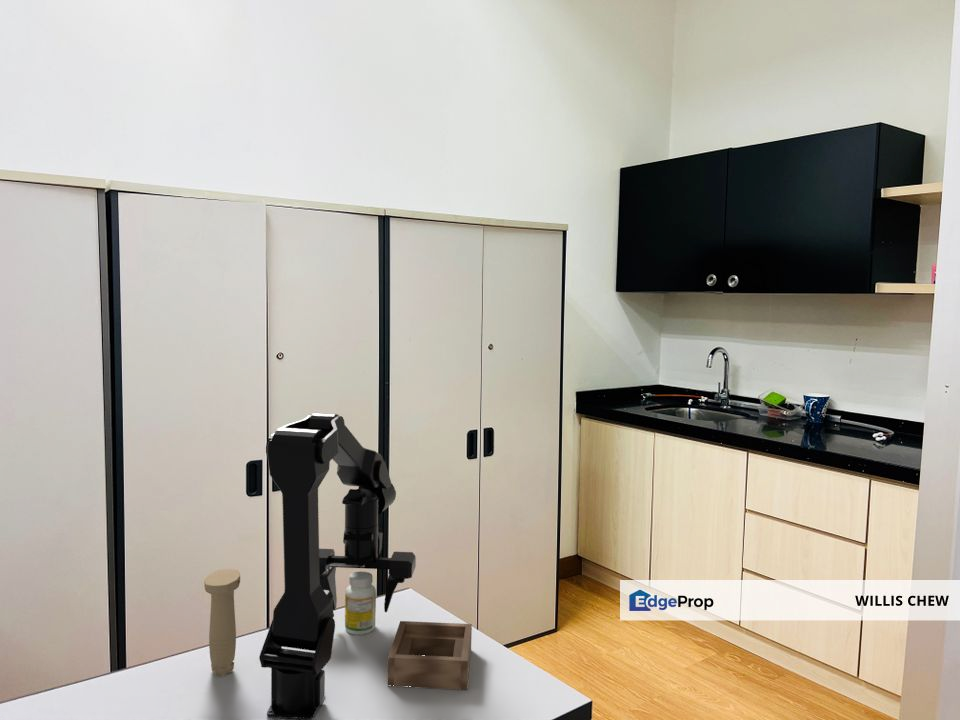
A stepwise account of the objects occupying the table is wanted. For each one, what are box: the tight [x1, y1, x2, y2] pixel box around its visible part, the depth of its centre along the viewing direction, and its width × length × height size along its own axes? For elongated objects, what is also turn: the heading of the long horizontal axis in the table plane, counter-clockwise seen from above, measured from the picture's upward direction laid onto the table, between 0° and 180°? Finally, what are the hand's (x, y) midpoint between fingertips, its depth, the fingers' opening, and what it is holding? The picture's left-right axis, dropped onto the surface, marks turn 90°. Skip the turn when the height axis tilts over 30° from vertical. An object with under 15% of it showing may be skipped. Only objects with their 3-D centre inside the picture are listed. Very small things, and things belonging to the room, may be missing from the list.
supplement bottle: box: [344, 571, 377, 636], centre depth 120 cm, size 5×5×10 cm
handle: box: [203, 568, 241, 677], centre depth 105 cm, size 5×6×15 cm
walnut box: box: [387, 620, 473, 691], centre depth 108 cm, size 12×12×4 cm
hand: (360, 610), depth 121 cm, fingers open, 9 cm apart
